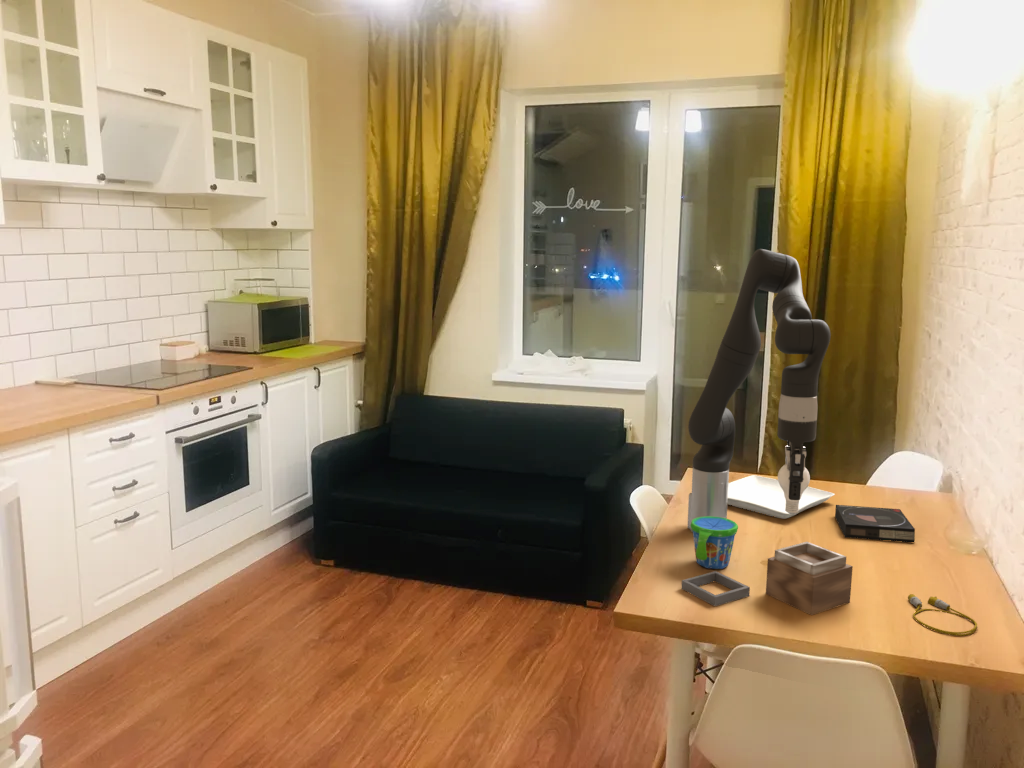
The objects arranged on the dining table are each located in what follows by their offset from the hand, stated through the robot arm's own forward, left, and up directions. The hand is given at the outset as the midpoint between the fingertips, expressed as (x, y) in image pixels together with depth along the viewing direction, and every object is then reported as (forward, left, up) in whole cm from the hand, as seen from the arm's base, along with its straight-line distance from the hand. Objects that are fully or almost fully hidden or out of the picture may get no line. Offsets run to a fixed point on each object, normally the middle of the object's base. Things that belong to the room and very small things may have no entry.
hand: (793, 494), depth 169 cm
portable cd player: (-18, +53, -23) cm, 61 cm away
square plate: (-48, +47, -23) cm, 71 cm away
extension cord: (+23, +19, -24) cm, 38 cm away
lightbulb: (0, 0, -4) cm, 4 cm away
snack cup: (-22, -1, -23) cm, 32 cm away
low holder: (-10, -12, -23) cm, 27 cm away
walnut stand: (+2, +3, -23) cm, 23 cm away
